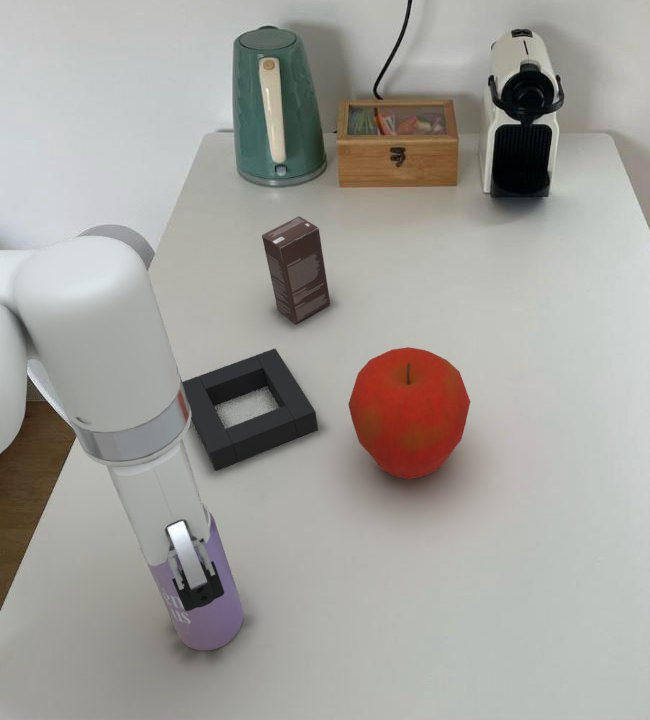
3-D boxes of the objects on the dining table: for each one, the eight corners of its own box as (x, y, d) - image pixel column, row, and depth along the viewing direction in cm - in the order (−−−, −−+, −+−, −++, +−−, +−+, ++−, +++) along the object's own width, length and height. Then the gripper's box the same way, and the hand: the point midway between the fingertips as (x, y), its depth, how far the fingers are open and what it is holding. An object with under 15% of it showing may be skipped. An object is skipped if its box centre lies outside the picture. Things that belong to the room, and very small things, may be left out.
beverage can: (258, 612, 74) (228, 512, 64) (215, 666, 71) (177, 569, 60) (208, 584, 77) (172, 483, 66) (164, 634, 73) (119, 537, 63)
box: (310, 290, 109) (299, 214, 101) (331, 305, 107) (321, 228, 99) (274, 310, 107) (259, 233, 98) (294, 326, 104) (281, 248, 96)
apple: (348, 427, 91) (336, 331, 81) (452, 409, 92) (453, 314, 83) (365, 515, 82) (354, 419, 72) (480, 494, 83) (484, 398, 74)
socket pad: (215, 471, 87) (210, 452, 85) (183, 401, 95) (177, 383, 93) (318, 429, 91) (315, 411, 89) (278, 366, 99) (275, 347, 97)
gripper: (50, 354, 59) (116, 500, 71) (104, 526, 48) (172, 666, 59) (151, 320, 62) (199, 467, 73) (225, 476, 50) (268, 620, 62)
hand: (187, 555), depth 66 cm, fingers open, 8 cm apart
